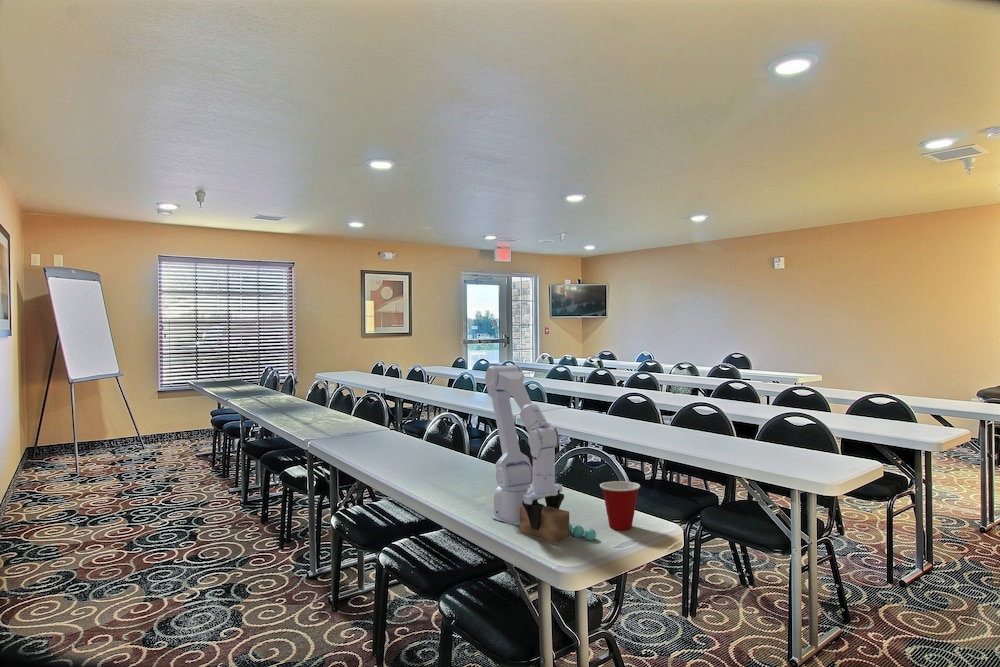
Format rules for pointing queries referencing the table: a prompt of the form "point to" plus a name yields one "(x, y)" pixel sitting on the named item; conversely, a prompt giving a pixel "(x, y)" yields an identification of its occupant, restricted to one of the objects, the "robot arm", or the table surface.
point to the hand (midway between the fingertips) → (543, 525)
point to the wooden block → (547, 524)
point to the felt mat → (542, 539)
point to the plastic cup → (620, 503)
